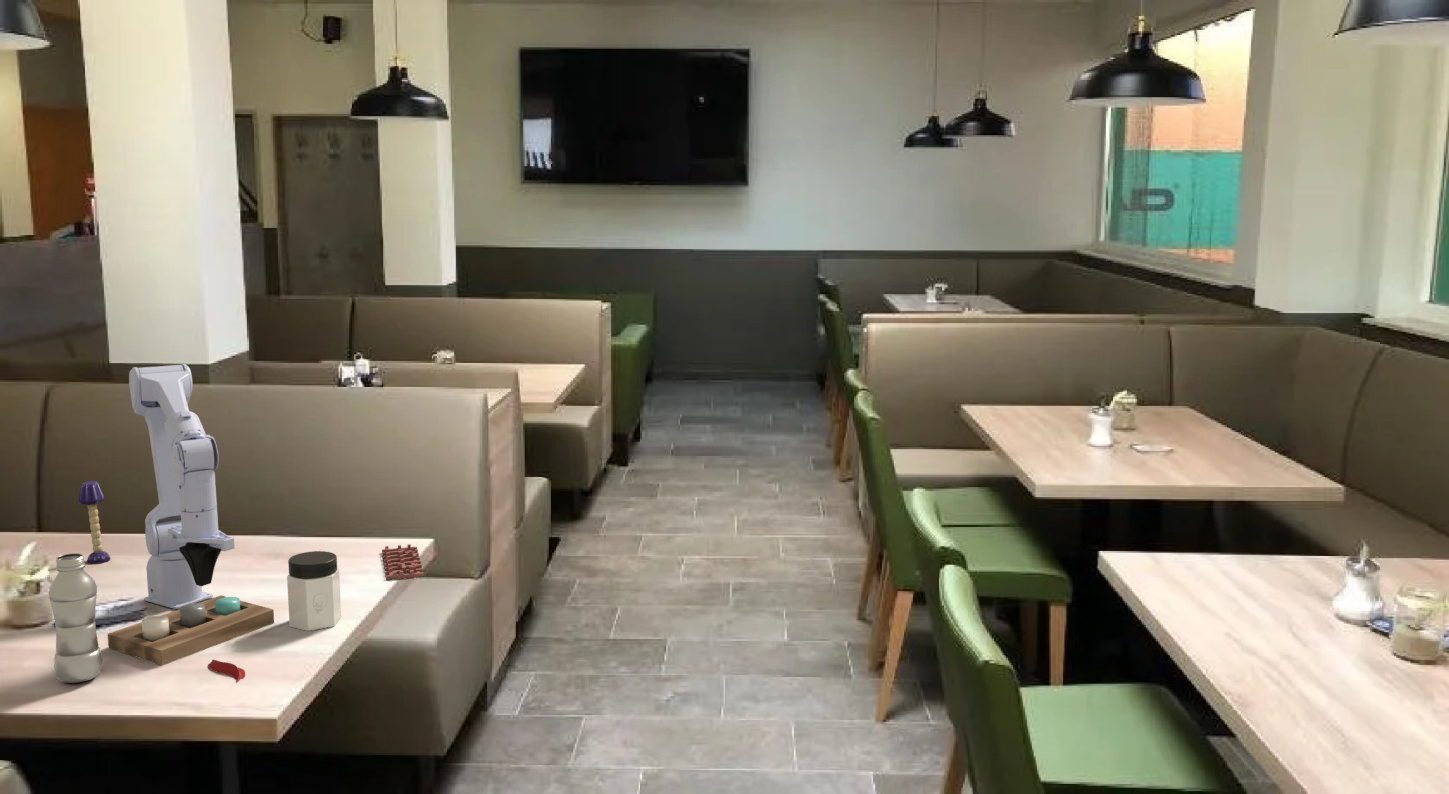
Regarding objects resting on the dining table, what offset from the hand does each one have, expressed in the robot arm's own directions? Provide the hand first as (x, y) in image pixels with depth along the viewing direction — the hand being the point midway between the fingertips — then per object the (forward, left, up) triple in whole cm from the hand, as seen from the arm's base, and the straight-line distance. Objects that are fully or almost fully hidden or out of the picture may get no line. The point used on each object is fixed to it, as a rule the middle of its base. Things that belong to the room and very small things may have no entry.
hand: (203, 584), depth 200 cm
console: (0, -2, -9) cm, 9 cm away
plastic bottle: (+1, -23, -9) cm, 25 cm away
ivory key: (0, -9, -6) cm, 11 cm away
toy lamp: (-52, +14, -9) cm, 55 cm away
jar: (+13, +13, -9) cm, 20 cm away
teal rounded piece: (0, +5, -7) cm, 9 cm away
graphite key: (0, -2, -6) cm, 7 cm away
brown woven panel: (+3, +44, -9) cm, 45 cm away
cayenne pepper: (+18, -10, -9) cm, 22 cm away
